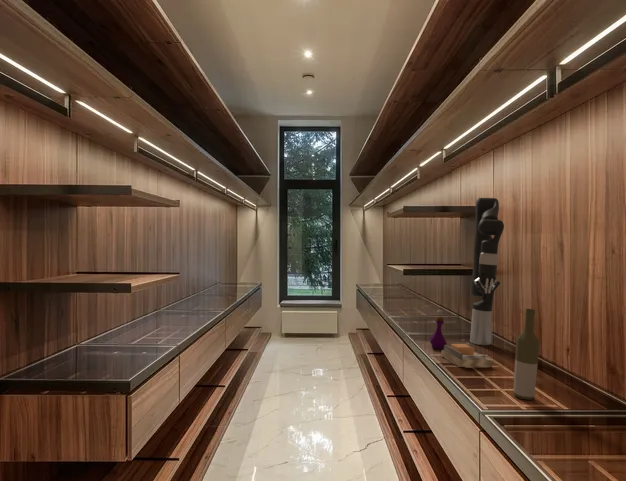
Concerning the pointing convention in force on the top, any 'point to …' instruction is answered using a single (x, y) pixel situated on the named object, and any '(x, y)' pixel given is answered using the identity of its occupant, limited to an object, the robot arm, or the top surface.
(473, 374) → the top surface
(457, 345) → the orange box with handle
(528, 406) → the top surface
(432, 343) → the perfume bottle
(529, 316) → the bottle
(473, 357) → the dock
